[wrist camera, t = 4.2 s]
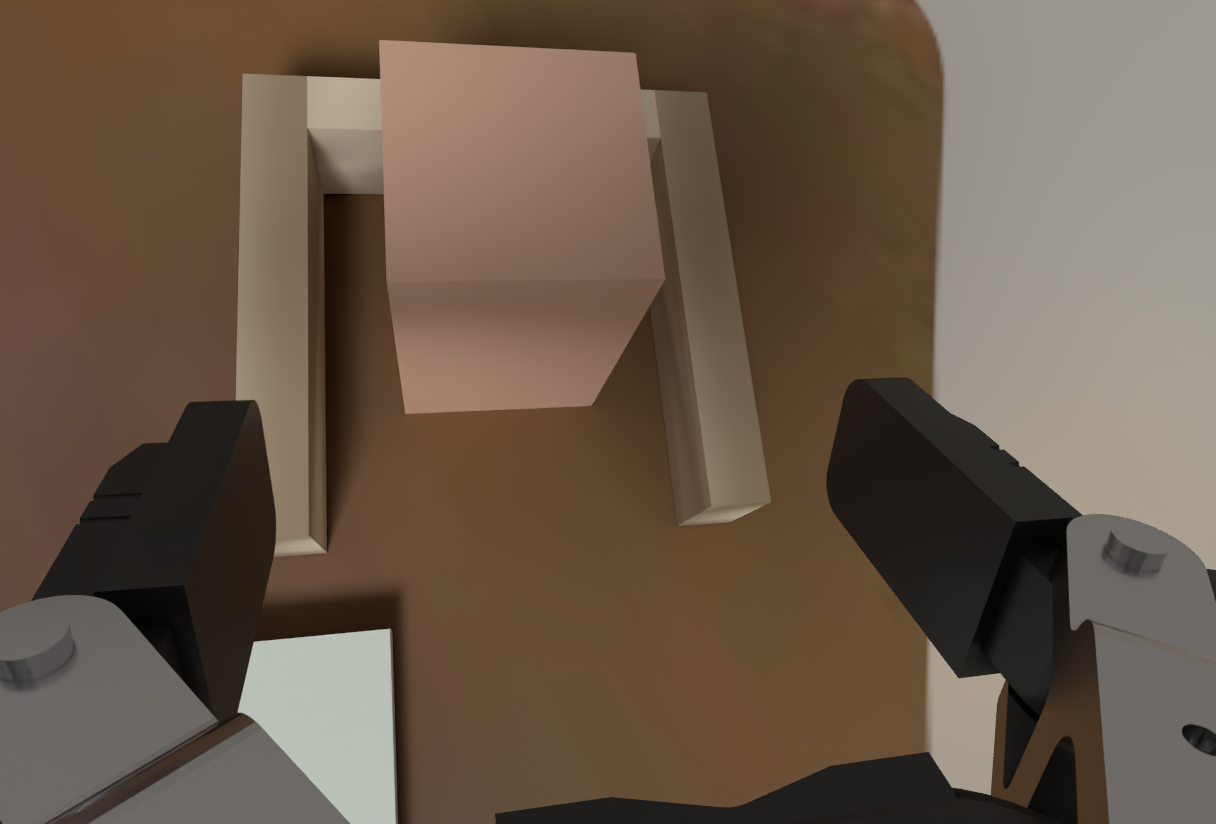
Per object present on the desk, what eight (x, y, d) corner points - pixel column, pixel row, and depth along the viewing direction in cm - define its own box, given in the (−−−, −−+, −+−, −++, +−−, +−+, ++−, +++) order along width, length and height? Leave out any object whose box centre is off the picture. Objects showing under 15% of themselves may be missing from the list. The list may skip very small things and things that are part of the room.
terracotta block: (405, 413, 22) (386, 281, 14) (399, 243, 23) (379, 40, 16) (591, 405, 23) (665, 279, 15) (575, 243, 24) (635, 52, 17)
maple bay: (262, 557, 20) (233, 540, 17) (267, 145, 23) (242, 73, 20) (729, 522, 23) (771, 501, 20) (677, 155, 26) (706, 92, 23)
